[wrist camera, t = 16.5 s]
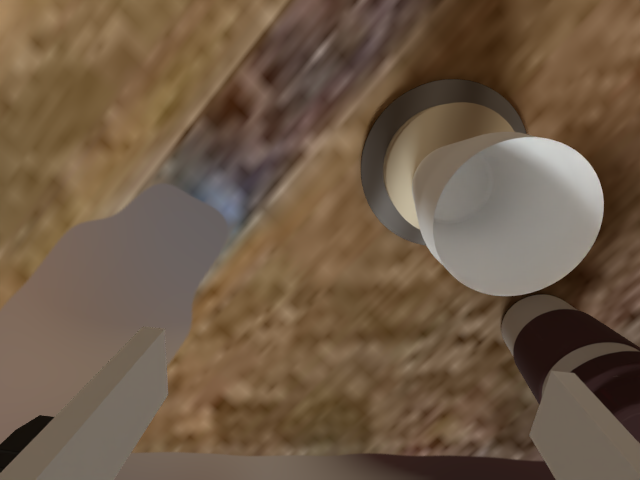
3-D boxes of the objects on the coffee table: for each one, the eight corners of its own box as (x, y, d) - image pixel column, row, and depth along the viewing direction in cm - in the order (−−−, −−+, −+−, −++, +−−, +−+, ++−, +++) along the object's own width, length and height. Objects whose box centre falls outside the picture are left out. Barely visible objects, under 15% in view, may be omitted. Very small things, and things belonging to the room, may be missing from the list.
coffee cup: (471, 306, 38) (548, 414, 24) (566, 264, 36) (711, 355, 22) (507, 376, 41) (596, 513, 27) (597, 340, 39) (746, 467, 25)
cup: (374, 188, 31) (394, 226, 20) (456, 103, 29) (531, 92, 17) (447, 256, 33) (504, 328, 21) (530, 181, 30) (644, 217, 19)
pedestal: (346, 228, 37) (347, 240, 33) (380, 65, 32) (385, 58, 28) (494, 255, 37) (512, 271, 33) (549, 97, 32) (577, 93, 28)
